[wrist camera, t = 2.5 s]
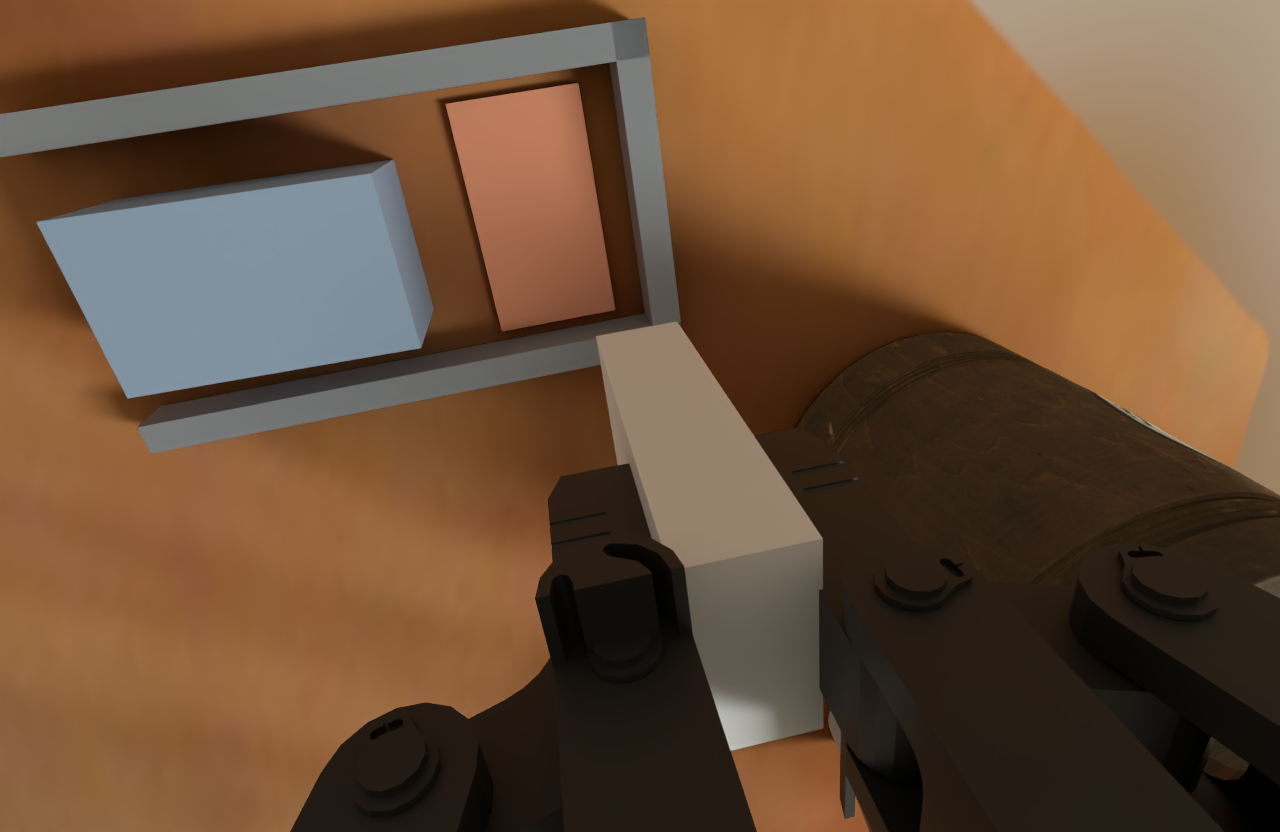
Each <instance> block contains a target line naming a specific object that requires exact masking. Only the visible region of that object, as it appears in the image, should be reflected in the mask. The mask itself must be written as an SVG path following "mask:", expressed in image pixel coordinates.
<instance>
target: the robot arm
mask: <svg viewBox="0 0 1280 832" xmlns="http://www.w3.org/2000/svg"><path fill="white" fill-rule="evenodd" d="M596 340H597V346H598V352H599V357H600V363H601V369H602V375H603V381H604V387H605V393H606V399H607V405H608V411H609V417H610V423H611V429H612V435H613V441H614V446H615V452H616V458H617V464H618V465H617V466H612V467H607V468H602V469H597V470H592V471H587V472H582V473H577V474H572V475H567V476H562V477H560V479H559V481H558V483H557V484H556V486H555V488H554V490H553V491H552V493H551V495H550V497H549V499H548V507H549V520H550V527H551V528H550V533H551V544H552V559H553V562H552V564H551V565H550V566H549V567H548V569H547V570H546V571H545V572H544V574H543V575H542V576H541V577H540V580H539V584H538V588H537V593H536V597H535V600H536V604H537V608H538V611H539V615H540V619H541V623H542V627H543V630H544V634H545V638H546V642H547V645H548V649H549V653H550V659H549V660H548V662H547V663H546V665H545V666H544V667H543V669H542V670H541V672H540V673H539V674H538V675H537V676H536V677H535V678H534V679H533V680H532V681H531V682H530V683H529V684H527V685H526V686H525V687H524V688H523V689H521V690H520V691H518V692H517V693H515V694H514V695H512V696H510V697H509V698H507V699H506V700H504V701H502V702H500V703H498V704H496V705H495V706H493V707H491V708H489V709H487V710H485V711H483V712H481V713H479V714H477V715H475V716H473V717H471V718H470V719H467V718H466V717H465V716H463V715H462V714H461V713H459V712H458V711H456V710H455V709H454V708H452V707H450V706H444V705H438V704H432V703H421V704H416V705H411V706H405V707H400V708H396V709H394V710H392V711H390V712H388V713H386V714H384V715H382V716H380V717H378V718H376V719H374V720H372V721H370V722H368V723H366V724H365V725H364V726H363V727H362V728H361V729H359V730H358V731H357V732H356V733H355V734H353V735H352V736H351V737H350V738H349V739H347V740H346V741H345V742H344V743H343V744H341V746H340V747H339V748H338V750H337V751H336V753H335V754H334V755H333V757H332V758H331V760H330V761H329V762H328V764H327V765H326V766H325V768H324V769H323V771H322V772H321V774H320V776H319V778H318V779H317V781H316V783H315V785H314V787H313V789H312V791H311V793H310V795H309V797H308V799H307V801H306V803H305V804H304V806H303V808H302V810H301V812H300V814H299V816H298V818H297V820H296V822H295V824H294V826H293V828H292V829H291V831H290V832H757V831H756V828H755V825H754V822H753V819H752V816H751V813H750V809H749V806H748V803H747V800H746V797H745V794H744V791H743V788H742V785H741V782H740V779H739V776H738V772H737V769H736V766H735V763H734V760H733V757H732V754H731V751H732V750H736V749H740V748H744V747H748V746H752V745H757V744H761V743H765V742H769V741H773V740H778V739H782V738H786V737H790V736H794V735H798V734H803V733H807V732H811V731H815V730H819V729H823V696H824V698H825V700H826V702H827V704H828V706H829V708H830V710H831V712H832V714H833V716H834V718H835V720H836V722H837V724H838V726H839V728H840V730H841V755H840V801H841V805H842V809H843V813H844V818H845V819H846V818H850V817H854V816H855V796H856V798H857V800H858V802H859V804H860V806H861V808H862V810H863V812H864V815H865V817H866V819H867V821H868V823H869V825H870V827H871V829H872V832H1280V598H1278V597H1276V596H1274V595H1272V594H1270V593H1269V592H1267V591H1265V590H1263V589H1261V588H1259V587H1257V586H1255V585H1253V584H1251V583H1249V582H1247V581H1245V580H1243V579H1241V578H1239V577H1237V576H1236V575H1234V574H1232V573H1230V572H1228V571H1226V570H1224V569H1222V568H1220V567H1218V566H1216V565H1214V564H1212V563H1209V562H1207V561H1204V560H1202V559H1199V558H1197V557H1194V556H1192V555H1189V554H1187V553H1184V552H1182V551H1178V550H1173V549H1168V548H1164V547H1159V546H1154V545H1149V544H1115V545H1111V546H1107V547H1103V548H1100V549H1096V550H1094V551H1093V552H1091V553H1090V554H1089V555H1088V556H1087V557H1086V558H1084V559H1083V560H1082V561H1081V563H1080V567H1079V572H1078V576H1077V580H1076V585H1059V584H1021V583H1003V582H993V581H988V580H987V579H986V578H985V577H984V576H983V575H982V573H981V572H980V571H979V570H977V569H976V568H975V567H973V566H972V565H971V564H969V563H968V562H967V561H965V560H964V559H963V558H961V557H960V556H959V555H956V554H954V553H951V552H949V551H946V550H944V549H941V548H939V547H936V546H934V545H927V544H921V543H914V542H913V541H912V540H911V539H910V538H909V536H908V535H907V534H906V533H905V532H904V531H903V530H902V528H901V527H900V526H899V525H898V524H897V523H896V521H895V520H894V519H893V518H892V517H891V516H890V514H889V513H888V512H887V511H886V510H885V509H884V507H883V506H882V505H881V504H880V503H879V502H878V501H877V499H876V498H875V497H874V496H873V495H872V494H871V492H870V491H869V490H868V489H867V488H866V487H865V485H864V484H863V483H862V482H858V477H857V476H856V475H855V474H854V473H853V472H852V470H851V469H850V468H849V467H848V466H847V465H844V462H843V460H842V459H841V458H840V456H839V455H838V454H837V453H836V452H835V451H834V450H833V448H832V447H831V446H830V445H829V444H828V443H827V441H825V440H823V439H821V438H819V437H817V436H815V435H813V434H811V433H809V432H807V431H805V430H803V429H801V428H799V427H797V428H792V429H787V430H782V431H777V432H772V433H767V434H762V435H757V436H754V435H753V434H752V432H751V431H750V429H749V428H748V426H747V425H746V423H745V422H744V420H743V419H742V417H741V416H740V414H739V413H738V411H737V410H736V408H735V407H734V406H733V404H732V403H731V401H730V400H729V398H728V397H727V395H726V394H725V392H724V391H723V389H722V388H721V386H720V385H719V383H718V382H717V380H716V379H715V377H714V376H713V374H712V373H711V371H710V370H709V368H708V367H707V365H706V364H705V362H704V361H703V359H702V358H701V356H700V355H699V353H698V352H697V350H696V349H695V347H694V346H693V344H692V343H691V341H690V340H689V339H688V337H687V336H686V334H685V333H684V331H683V330H682V328H681V327H680V325H679V324H678V322H672V323H666V324H660V325H655V326H649V327H644V328H638V329H633V330H627V331H622V332H616V333H611V334H605V335H599V336H596ZM1216 740H1217V741H1218V742H1219V743H1221V744H1222V745H1224V746H1225V747H1226V748H1228V749H1229V750H1231V751H1232V752H1234V753H1235V754H1236V755H1238V756H1239V757H1241V758H1242V759H1243V760H1245V761H1246V762H1248V763H1249V766H1248V768H1247V770H1238V769H1234V768H1231V767H1228V766H1225V765H1223V764H1221V763H1220V762H1218V761H1216V760H1215V759H1213V758H1211V757H1210V756H1209V755H1210V753H1211V750H1212V748H1213V746H1214V743H1215V741H1216Z"/></svg>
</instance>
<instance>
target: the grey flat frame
mask: <svg viewBox="0 0 1280 832" xmlns="http://www.w3.org/2000/svg"><path fill="white" fill-rule="evenodd" d="M606 63H609V66H610V73H611V80H612V87H613V94H614V101H615V108H616V115H617V122H618V129H619V136H620V143H621V150H622V157H623V164H624V172H625V179H626V186H627V193H628V200H629V207H630V214H631V221H632V228H633V235H634V242H635V249H636V256H637V263H638V270H639V277H640V284H641V291H642V298H643V305H644V312H645V313H643V314H638V315H633V316H628V317H623V318H617V319H612V320H607V321H602V322H596V323H591V324H586V325H581V326H576V327H570V328H565V329H560V330H555V331H550V332H544V333H539V334H534V335H529V336H523V337H518V338H513V339H508V340H503V341H497V342H492V343H487V344H482V345H477V346H471V347H466V348H461V349H456V350H451V351H445V352H440V353H435V354H430V355H424V356H419V357H414V358H409V359H404V360H398V361H393V362H388V363H383V364H378V365H372V366H367V367H362V368H357V369H351V370H346V371H341V372H336V373H331V374H325V375H320V376H315V377H310V378H305V379H299V380H294V381H289V382H284V383H278V384H273V385H268V386H263V387H258V388H252V389H247V390H242V391H237V392H232V393H226V394H221V395H216V396H211V397H206V398H200V399H195V400H190V401H185V402H179V403H174V404H169V405H164V406H160V407H159V408H158V409H157V410H156V411H154V412H153V413H152V414H151V415H150V416H149V417H148V418H147V419H146V420H145V421H144V422H142V423H141V424H140V425H139V426H138V427H137V429H138V431H139V432H140V434H141V436H142V438H143V440H144V441H145V443H146V445H147V447H148V449H149V451H150V452H151V454H152V453H157V452H162V451H167V450H172V449H177V448H182V447H188V446H193V445H198V444H203V443H208V442H213V441H218V440H223V439H228V438H233V437H238V436H243V435H248V434H253V433H258V432H263V431H268V430H273V429H279V428H284V427H289V426H294V425H299V424H304V423H309V422H314V421H319V420H324V419H329V418H334V417H339V416H344V415H349V414H354V413H359V412H364V411H370V410H375V409H380V408H385V407H390V406H395V405H400V404H405V403H410V402H415V401H420V400H425V399H430V398H435V397H440V396H445V395H450V394H455V393H461V392H466V391H471V390H476V389H481V388H486V387H491V386H496V385H501V384H506V383H511V382H516V381H521V380H526V379H531V378H536V377H541V376H546V375H552V374H557V373H562V372H567V371H572V370H577V369H582V368H587V367H592V366H597V365H601V363H600V357H599V352H598V346H597V340H596V336H599V335H605V334H611V333H616V332H622V331H627V330H633V329H638V328H644V327H649V326H655V325H660V324H666V323H672V322H678V324H679V325H680V327H681V319H680V311H679V302H678V294H677V285H676V277H675V268H674V259H673V251H672V242H671V234H670V225H669V217H668V208H667V200H666V191H665V183H664V174H663V166H662V157H661V149H660V140H659V132H658V123H657V114H656V106H655V97H654V89H653V80H652V72H651V63H650V55H649V46H648V38H647V29H646V21H645V17H643V18H637V19H630V20H623V21H617V22H610V23H603V24H597V25H590V26H583V27H577V28H570V29H563V30H557V31H550V32H544V33H537V34H530V35H524V36H517V37H510V38H504V39H497V40H490V41H484V42H477V43H470V44H464V45H457V46H450V47H444V48H437V49H430V50H424V51H417V52H411V53H404V54H397V55H391V56H384V57H377V58H371V59H364V60H357V61H351V62H344V63H337V64H331V65H324V66H317V67H311V68H304V69H298V70H291V71H284V72H278V73H271V74H264V75H258V76H251V77H244V78H238V79H231V80H224V81H218V82H211V83H204V84H198V85H191V86H185V87H178V88H171V89H165V90H158V91H151V92H145V93H138V94H131V95H125V96H118V97H111V98H105V99H98V100H91V101H85V102H78V103H72V104H65V105H58V106H52V107H45V108H38V109H32V110H25V111H18V112H12V113H5V114H0V158H1V157H8V156H15V155H22V154H29V153H36V152H42V151H49V150H55V149H61V148H68V147H74V146H81V145H87V144H94V143H100V142H106V141H113V140H119V139H126V138H132V137H138V136H145V135H151V134H158V133H164V132H170V131H177V130H183V129H190V128H196V127H202V126H209V125H215V124H222V123H228V122H235V121H241V120H247V119H254V118H260V117H267V116H273V115H279V114H286V113H292V112H299V111H305V110H311V109H318V108H324V107H331V106H337V105H343V104H350V103H356V102H363V101H369V100H375V99H382V98H388V97H395V96H401V95H408V94H414V93H420V92H427V91H433V90H440V89H446V88H452V87H459V86H465V85H472V84H478V83H484V82H491V81H497V80H504V79H510V78H516V77H523V76H529V75H536V74H542V73H549V72H555V71H561V70H568V69H574V68H581V67H587V66H593V65H600V64H606ZM446 108H447V112H448V116H449V120H450V124H451V128H452V132H453V136H454V140H455V144H456V148H457V152H458V156H459V160H460V165H461V169H462V173H463V177H464V181H465V185H466V189H467V193H468V197H469V201H470V205H471V209H472V213H473V217H474V221H475V225H476V229H477V233H478V237H479V241H480V245H481V249H482V253H483V257H484V262H485V266H486V270H487V274H488V278H489V282H490V286H491V290H492V294H493V298H494V302H495V306H496V310H497V314H498V318H499V322H500V326H501V330H502V332H503V331H508V330H513V329H518V328H524V327H529V326H534V325H539V324H545V323H550V322H555V321H560V320H566V319H571V318H576V317H581V316H587V315H592V314H597V313H602V312H608V311H613V310H615V304H614V298H613V292H612V286H611V280H610V274H609V268H608V261H607V255H606V249H605V243H604V237H603V231H602V225H601V218H600V212H599V206H598V200H597V194H596V188H595V182H594V175H593V169H592V163H591V157H590V151H589V145H588V139H587V132H586V126H585V120H584V114H583V108H582V102H581V96H580V89H579V83H574V84H568V85H562V86H555V87H549V88H543V89H536V90H530V91H524V92H517V93H511V94H505V95H498V96H492V97H486V98H479V99H473V100H467V101H460V102H454V103H448V104H446Z"/></svg>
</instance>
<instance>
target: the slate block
mask: <svg viewBox="0 0 1280 832" xmlns="http://www.w3.org/2000/svg"><path fill="white" fill-rule="evenodd" d="M36 223H37V225H38V227H39V228H40V230H41V232H42V234H43V236H44V238H45V240H46V242H47V244H48V246H49V248H50V250H51V252H52V254H53V255H54V257H55V259H56V261H57V263H58V265H59V267H60V269H61V271H62V273H63V275H64V277H65V279H66V281H67V283H68V284H69V286H70V288H71V290H72V292H73V294H74V296H75V298H76V300H77V302H78V304H79V306H80V308H81V310H82V311H83V313H84V315H85V317H86V319H87V321H88V323H89V325H90V327H91V329H92V331H93V333H94V335H95V337H96V338H97V340H98V342H99V344H100V346H101V348H102V350H103V352H104V354H105V356H106V358H107V360H108V362H109V364H110V365H111V367H112V369H113V371H114V373H115V375H116V377H117V379H118V381H119V383H120V385H121V387H122V389H123V391H124V393H125V394H126V396H127V398H128V399H129V398H134V397H140V396H146V395H152V394H158V393H163V392H169V391H175V390H181V389H187V388H192V387H198V386H204V385H210V384H216V383H221V382H227V381H233V380H239V379H245V378H250V377H256V376H262V375H268V374H274V373H279V372H285V371H291V370H297V369H303V368H308V367H314V366H320V365H326V364H332V363H337V362H343V361H349V360H355V359H361V358H367V357H372V356H378V355H384V354H390V353H396V352H401V351H407V350H413V349H419V348H421V347H422V344H423V341H424V338H425V335H426V332H427V329H428V326H429V323H430V320H431V317H432V314H433V311H434V307H433V304H432V300H431V296H430V293H429V289H428V285H427V281H426V278H425V274H424V270H423V267H422V263H421V259H420V256H419V252H418V248H417V244H416V241H415V237H414V233H413V230H412V226H411V222H410V219H409V215H408V211H407V207H406V204H405V200H404V196H403V193H402V189H401V185H400V181H399V178H398V174H397V170H396V167H395V163H394V159H393V160H386V161H379V162H372V163H365V164H358V165H351V166H344V167H337V168H330V169H323V170H316V171H309V172H302V173H295V174H288V175H281V176H274V177H267V178H260V179H253V180H246V181H239V182H232V183H225V184H218V185H211V186H204V187H197V188H190V189H183V190H176V191H169V192H162V193H155V194H148V195H142V196H135V197H128V198H121V199H115V200H112V201H108V202H105V203H101V204H98V205H94V206H91V207H87V208H84V209H80V210H77V211H73V212H70V213H66V214H63V215H59V216H56V217H52V218H49V219H45V220H42V221H38V222H36Z"/></svg>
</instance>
